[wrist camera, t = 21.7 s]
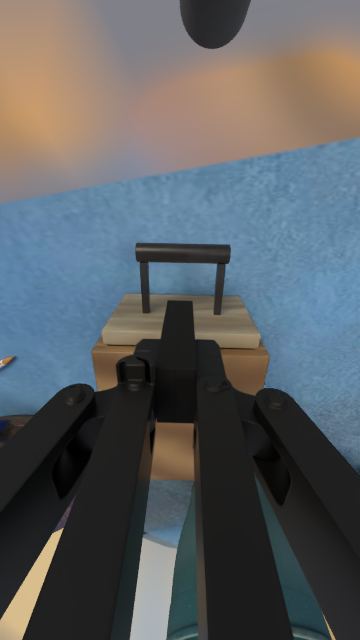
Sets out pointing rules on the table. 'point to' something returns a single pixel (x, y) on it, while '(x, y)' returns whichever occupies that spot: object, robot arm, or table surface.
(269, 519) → the flower pot
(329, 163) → the table surface
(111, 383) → the cabinet
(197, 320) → the drawer
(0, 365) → the pencil
